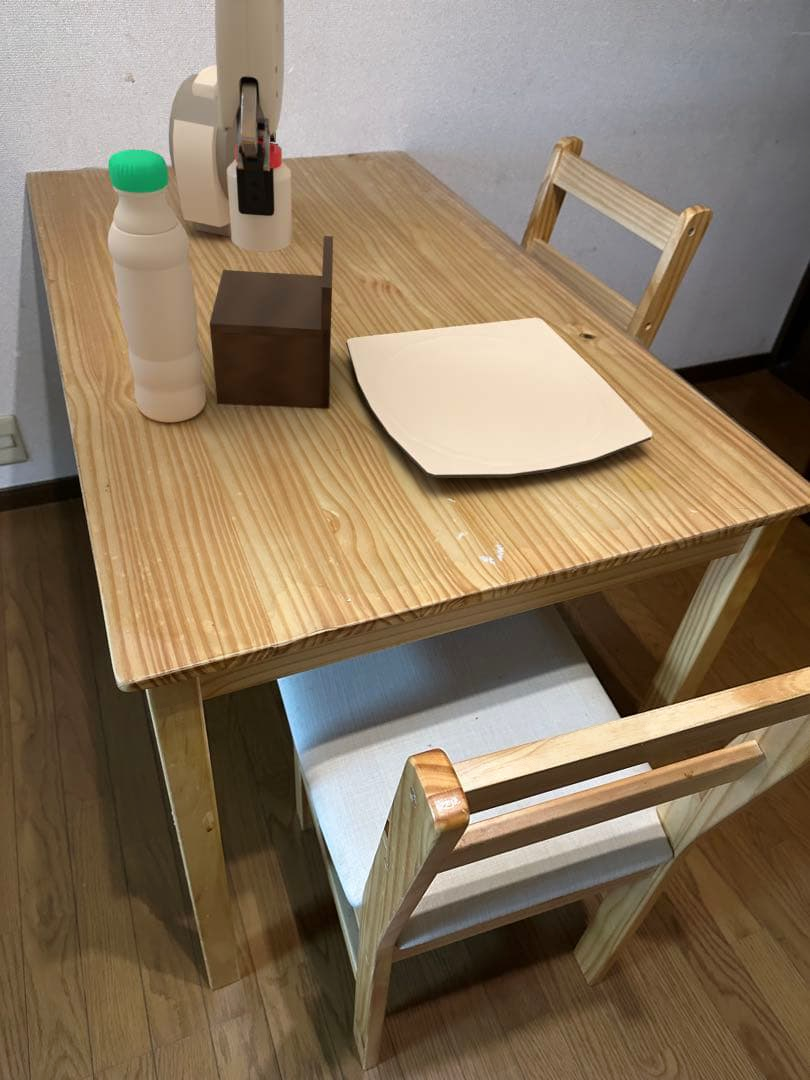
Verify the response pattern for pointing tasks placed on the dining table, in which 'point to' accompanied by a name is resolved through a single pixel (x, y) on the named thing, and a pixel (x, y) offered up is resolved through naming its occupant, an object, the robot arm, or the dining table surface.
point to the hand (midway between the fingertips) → (259, 198)
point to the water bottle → (155, 289)
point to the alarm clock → (201, 153)
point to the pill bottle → (257, 228)
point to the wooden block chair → (273, 337)
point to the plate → (491, 399)
